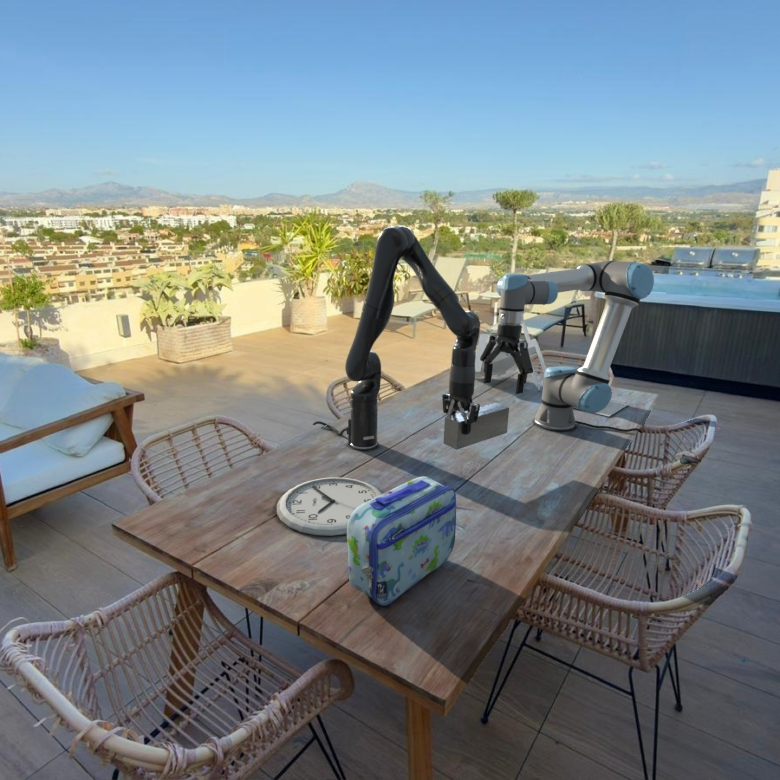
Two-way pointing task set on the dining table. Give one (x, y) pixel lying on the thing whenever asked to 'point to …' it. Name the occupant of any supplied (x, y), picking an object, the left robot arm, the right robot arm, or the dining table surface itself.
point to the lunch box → (400, 538)
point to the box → (476, 426)
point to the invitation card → (611, 408)
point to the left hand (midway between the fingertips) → (458, 430)
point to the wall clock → (324, 504)
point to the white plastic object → (506, 357)
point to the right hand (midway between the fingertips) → (502, 388)
